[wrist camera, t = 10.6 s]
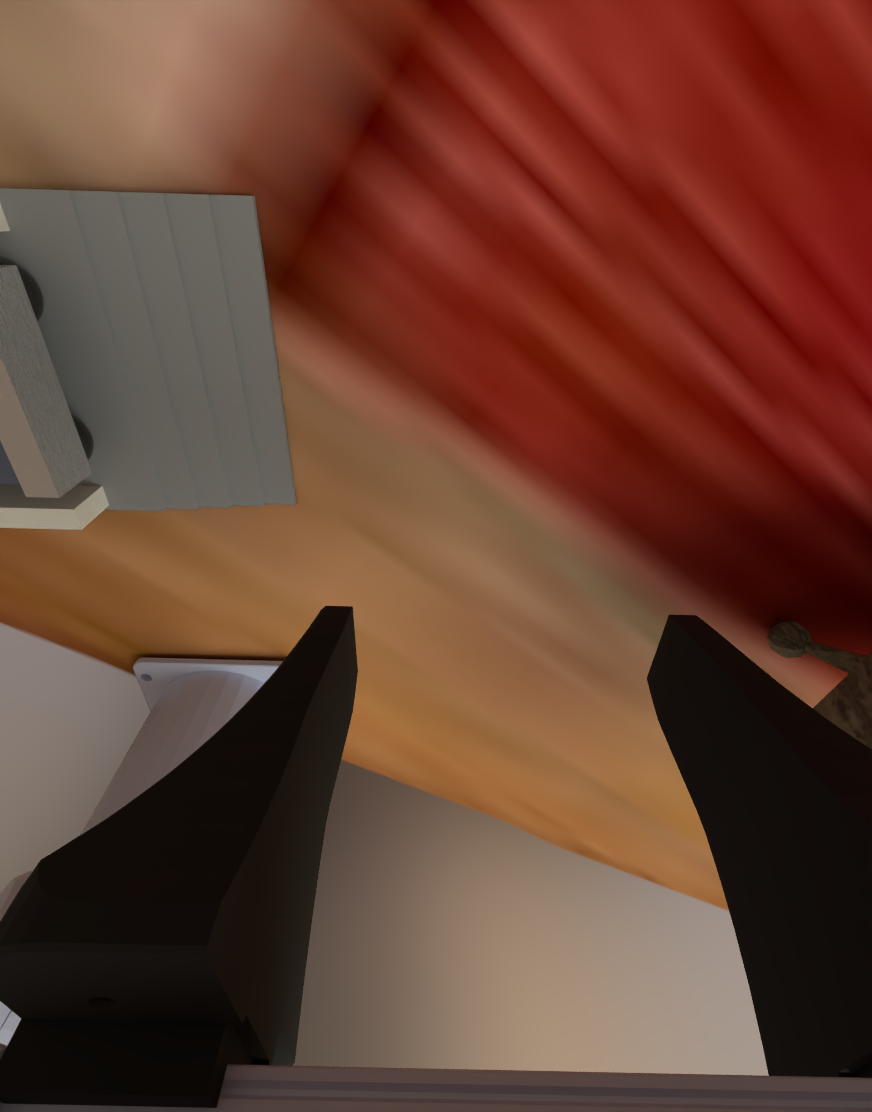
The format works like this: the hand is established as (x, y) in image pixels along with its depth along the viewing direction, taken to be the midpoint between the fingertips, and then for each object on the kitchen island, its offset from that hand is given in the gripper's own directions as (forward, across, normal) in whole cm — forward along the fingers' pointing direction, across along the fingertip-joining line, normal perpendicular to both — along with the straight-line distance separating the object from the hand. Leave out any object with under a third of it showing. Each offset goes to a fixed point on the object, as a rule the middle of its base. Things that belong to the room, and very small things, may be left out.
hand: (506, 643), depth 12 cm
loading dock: (+9, +15, -4) cm, 18 cm away
